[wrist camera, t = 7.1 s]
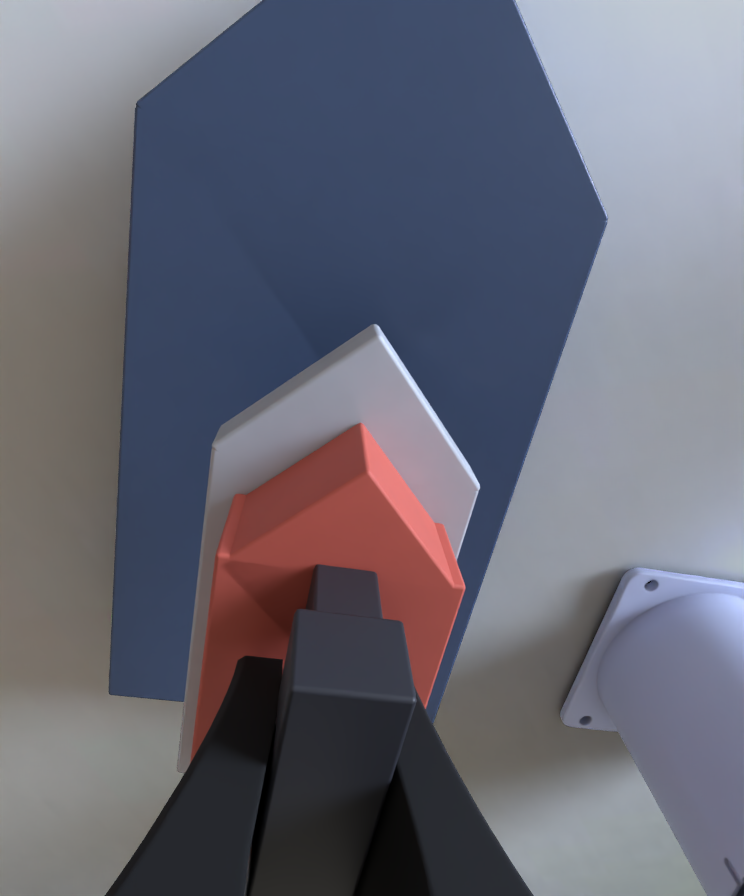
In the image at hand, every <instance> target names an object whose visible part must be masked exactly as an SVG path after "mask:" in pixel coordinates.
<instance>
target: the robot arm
mask: <svg viewBox="0 0 744 896" xmlns="http://www.w3.org/2000/svg"><path fill="white" fill-rule="evenodd" d="M650 580H652V581H651V583H649V584H647V585H645V584H646V583H647V582H648V581H650ZM282 668H283V659H275V658H265V657H256V656H244V657H242V658H240V659H239V660H238V661H237V664H236V668H235V672H234V675H233V677H232V680H231V683H230V685H229V688H228V690H227V693H226V695H225V697H224V699H223V702H222V704H221V706H220V708H219V710H218V712H217V714H216V716H215V718H214V720H213V722H212V725H211V727H210V729H209V730H208V732H207V734H206V736H205V738H204V740H203V741H202V743H201V745H200V747H199V749H198V750H197V752H196V754H195V756H194V758H193V760H192V761H191V763H190V765H189V767H188V769H187V770H186V772H185V774H184V776H183V777H182V779H181V781H180V782H179V784H178V786H177V787H176V789H175V790H174V792H173V794H172V795H171V797H170V798H169V800H168V802H167V803H166V805H165V806H164V808H163V810H162V811H161V813H160V814H159V816H158V818H157V819H156V821H155V822H154V824H153V826H152V827H151V829H150V830H149V832H148V833H147V835H146V837H145V838H144V840H143V841H142V843H141V844H140V846H139V847H138V849H137V850H136V852H135V853H134V855H133V856H132V857H131V859H130V860H129V862H128V863H127V865H126V866H125V868H124V869H123V871H122V872H121V874H120V875H119V876H118V878H117V879H116V881H115V882H114V884H113V885H112V886H111V888H110V889H109V891H108V892H107V893H106V895H105V896H244V894H245V885H246V876H247V867H248V860H249V855H250V850H251V845H252V840H253V835H254V830H255V825H256V820H257V815H258V809H259V804H260V799H261V794H262V789H263V784H264V779H265V774H266V769H267V764H268V758H269V753H270V748H271V743H272V738H273V733H274V728H275V723H276V718H277V707H278V695H279V690H280V684H281V679H282ZM414 688H415V686H414ZM415 693H416V699H417V702H416V705H415V708H414V711H413V714H412V717H411V721H410V724H409V727H408V730H407V733H406V736H405V739H404V742H403V745H402V749H401V752H400V755H399V758H398V761H397V764H396V767H395V770H394V774H393V777H392V780H391V783H390V786H389V789H388V792H387V795H386V798H385V802H384V805H383V808H382V811H381V814H380V817H379V820H378V823H377V827H376V830H375V833H374V836H373V839H372V842H371V845H370V848H369V851H368V855H367V858H366V861H365V864H364V867H363V870H362V873H361V876H360V880H359V883H358V886H357V889H356V892H355V895H354V896H533V894H532V893H531V891H530V890H529V888H528V887H527V885H526V884H525V882H524V881H523V879H522V878H521V876H520V875H519V873H518V872H517V870H516V869H515V867H514V865H513V864H512V862H511V861H510V859H509V858H508V856H507V854H506V853H505V851H504V850H503V848H502V846H501V845H500V843H499V842H498V840H497V838H496V837H495V835H494V834H493V832H492V830H491V829H490V827H489V825H488V824H487V822H486V820H485V819H484V817H483V815H482V814H481V812H480V810H479V809H478V807H477V805H476V803H475V802H474V800H473V798H472V796H471V794H470V793H469V791H468V789H467V787H466V786H465V784H464V782H463V780H462V778H461V777H460V775H459V773H458V771H457V770H456V768H455V766H454V764H453V762H452V760H451V758H450V757H449V755H448V753H447V751H446V749H445V747H444V745H443V743H442V741H441V739H440V737H439V735H438V734H437V732H436V730H435V728H434V726H433V724H432V722H431V720H430V718H429V716H428V714H427V712H426V709H425V707H424V705H423V703H422V701H421V699H420V697H419V695H418V693H417V690H416V688H415ZM560 716H561V719H562V721H563V723H564V724H565V725H566V726H569V727H575V728H585V729H595V730H605V731H615V732H619V734H620V736H621V738H622V739H623V741H624V743H625V745H626V747H627V749H628V751H629V752H630V754H631V756H632V758H633V760H634V762H635V763H636V765H637V767H638V769H639V771H640V773H641V774H642V776H643V778H644V780H645V782H646V784H647V786H648V787H649V789H650V791H651V793H652V795H653V797H654V798H655V800H656V802H657V804H658V806H659V808H660V809H661V811H662V813H663V815H664V817H665V819H666V821H667V822H668V824H669V826H670V828H671V830H672V832H673V833H674V835H675V837H676V839H677V841H678V843H679V844H680V846H681V848H682V850H683V852H684V854H685V856H686V857H687V859H688V861H689V863H690V865H691V867H692V868H693V870H694V872H695V874H696V876H697V878H698V879H699V881H700V883H701V885H702V887H703V889H704V891H705V892H706V894H707V896H744V583H742V582H735V581H729V580H722V579H715V578H708V577H701V576H695V575H688V574H681V573H674V572H667V571H660V570H654V569H647V568H640V567H639V568H632V569H630V570H628V571H627V572H626V573H625V574H624V575H623V577H622V579H621V581H620V584H619V586H618V588H617V590H616V592H615V594H614V597H613V599H612V601H611V603H610V605H609V607H608V610H607V612H606V614H605V616H604V618H603V620H602V623H601V625H600V627H599V629H598V631H597V633H596V636H595V638H594V640H593V642H592V644H591V646H590V649H589V651H588V653H587V655H586V657H585V660H584V662H583V664H582V666H581V668H580V670H579V673H578V675H577V677H576V679H575V681H574V683H573V686H572V688H571V690H570V692H569V694H568V696H567V699H566V701H565V703H564V705H563V707H562V709H561V712H560Z"/></svg>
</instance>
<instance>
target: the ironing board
mask: <svg viewBox="0 0 744 896" xmlns="http://www.w3.org/2000/svg"><path fill="white" fill-rule="evenodd" d="M607 220H608V216H607V213H606V211H605V209H604V206H603V204H602V202H601V199H600V197H599V195H598V192H597V190H596V188H595V185H594V183H593V181H592V179H591V176H590V174H589V172H588V169H587V167H586V165H585V162H584V160H583V158H582V155H581V153H580V151H579V148H578V146H577V144H576V141H575V139H574V137H573V134H572V132H571V130H570V127H569V125H568V123H567V120H566V118H565V116H564V113H563V111H562V109H561V106H560V104H559V102H558V99H557V97H556V95H555V92H554V90H553V88H552V85H551V83H550V81H549V78H548V76H547V74H546V71H545V69H544V67H543V64H542V62H541V60H540V57H539V55H538V53H537V50H536V48H535V46H534V43H533V41H532V39H531V36H530V34H529V32H528V29H527V27H526V25H525V22H524V20H523V18H522V15H521V13H520V11H519V8H518V6H517V4H516V1H515V0H262V1H261V2H260V3H258V4H257V5H256V6H255V7H254V8H252V9H251V10H250V11H249V12H247V13H246V14H245V15H244V16H242V17H241V18H240V19H239V20H237V21H236V22H235V23H234V24H232V25H231V26H230V27H229V28H228V29H226V30H225V31H224V32H223V33H221V34H220V35H219V36H218V37H216V38H215V39H214V40H213V41H211V42H210V43H209V44H208V45H206V46H205V47H204V48H203V49H201V50H200V51H199V52H198V53H197V54H195V55H194V56H193V57H192V58H190V59H189V60H188V61H187V62H185V63H184V64H183V65H182V66H180V67H179V68H178V69H177V70H175V71H174V72H173V73H172V74H171V75H169V76H168V77H167V78H166V79H164V80H163V81H162V82H161V83H159V84H158V85H157V86H156V87H154V88H153V89H152V90H151V91H149V92H148V93H147V94H146V95H144V96H143V97H142V98H141V99H140V100H138V101H137V103H136V108H135V120H134V142H133V164H132V186H131V208H130V230H129V252H128V274H127V296H126V318H125V340H124V362H123V384H122V407H121V429H120V451H119V473H118V495H117V517H116V539H115V561H114V583H113V605H112V627H111V649H110V671H109V694H110V695H117V696H127V697H138V698H148V699H159V700H169V701H179V702H184V698H185V689H186V680H187V671H188V662H189V652H190V643H191V634H192V625H193V616H194V606H195V597H196V588H197V579H198V570H199V561H200V551H201V542H202V533H203V524H204V515H205V505H206V496H207V487H208V478H209V469H210V459H211V450H212V443H213V441H214V439H215V437H216V435H217V433H218V431H219V429H220V427H221V425H223V424H224V423H226V422H227V421H229V420H230V419H232V418H233V417H235V416H236V415H238V414H239V413H241V412H242V411H244V410H245V409H247V408H248V407H250V406H251V405H253V404H254V403H256V402H257V401H258V400H260V399H261V398H263V397H264V396H266V395H267V394H269V393H270V392H272V391H273V390H275V389H276V388H278V387H279V386H281V385H282V384H284V383H285V382H287V381H288V380H290V379H291V378H293V377H294V376H296V375H297V374H299V373H300V372H302V371H303V370H305V369H306V368H308V367H309V366H311V365H312V364H314V363H315V362H317V361H318V360H320V359H321V358H323V357H324V356H326V355H327V354H329V353H330V352H332V351H333V350H335V349H336V348H338V347H339V346H341V345H342V344H344V343H345V342H347V341H348V340H350V339H351V338H352V337H354V336H355V335H357V334H358V333H360V332H361V331H363V330H364V329H366V328H367V327H369V326H370V325H373V324H376V325H378V326H379V327H380V329H381V330H382V332H383V333H384V335H385V337H386V338H387V340H388V341H389V343H390V344H391V346H392V347H393V349H394V350H395V352H396V353H397V355H398V356H399V358H400V360H401V361H402V363H403V364H404V366H405V367H406V369H407V370H408V372H409V373H410V375H411V376H412V378H413V379H414V381H415V383H416V384H417V386H418V387H419V389H420V390H421V392H422V393H423V395H424V396H425V398H426V399H427V401H428V403H429V404H430V406H431V407H432V409H433V410H434V412H435V413H436V415H437V416H438V418H439V419H440V421H441V422H442V424H443V426H444V427H445V429H446V430H447V432H448V433H449V435H450V436H451V438H452V439H453V441H454V442H455V444H456V446H457V447H458V449H459V450H460V452H461V453H462V455H463V456H464V458H465V459H466V461H467V462H468V464H469V465H470V467H471V469H472V471H473V473H474V475H475V477H476V479H477V481H478V482H479V484H480V489H479V491H478V495H477V498H476V501H475V504H474V508H473V511H472V514H471V517H470V520H469V523H468V527H467V530H466V533H465V536H464V539H463V542H462V545H461V549H460V552H459V555H458V558H457V564H458V567H459V569H460V572H461V575H462V578H463V581H464V584H465V591H464V594H463V597H462V600H461V603H460V606H459V609H458V613H457V616H456V619H455V622H454V625H453V628H452V631H451V634H450V637H449V640H448V643H447V646H446V649H445V652H444V655H443V658H442V661H441V664H440V667H439V670H438V673H437V676H436V679H435V682H434V685H433V688H432V691H431V694H430V697H429V700H428V703H427V706H426V712H427V714H428V716H429V718H430V720H431V722H432V724H433V722H434V720H435V717H436V714H437V711H438V708H439V705H440V702H441V699H442V697H443V694H444V691H445V688H446V685H447V682H448V679H449V676H450V674H451V671H452V668H453V665H454V662H455V659H456V656H457V653H458V651H459V648H460V645H461V642H462V639H463V636H464V633H465V630H466V628H467V625H468V622H469V619H470V616H471V613H472V610H473V607H474V604H475V602H476V599H477V596H478V593H479V590H480V587H481V584H482V581H483V579H484V576H485V573H486V570H487V567H488V564H489V561H490V558H491V556H492V553H493V550H494V547H495V544H496V541H497V538H498V535H499V533H500V530H501V527H502V524H503V521H504V518H505V515H506V512H507V510H508V507H509V504H510V501H511V498H512V495H513V492H514V489H515V487H516V484H517V481H518V478H519V475H520V472H521V469H522V466H523V464H524V461H525V458H526V455H527V452H528V449H529V446H530V443H531V441H532V438H533V435H534V432H535V429H536V426H537V423H538V420H539V418H540V415H541V412H542V409H543V406H544V403H545V400H546V397H547V395H548V392H549V389H550V386H551V383H552V380H553V377H554V374H555V371H556V369H557V366H558V363H559V360H560V357H561V354H562V351H563V348H564V346H565V343H566V340H567V337H568V334H569V331H570V328H571V325H572V323H573V320H574V317H575V314H576V311H577V308H578V305H579V302H580V300H581V297H582V294H583V291H584V288H585V285H586V282H587V279H588V277H589V274H590V271H591V268H592V265H593V262H594V259H595V256H596V254H597V251H598V248H599V245H600V242H601V239H602V236H603V233H604V231H605V228H606V225H607Z"/></svg>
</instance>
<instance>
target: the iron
mask: <svg viewBox="0 0 744 896" xmlns="http://www.w3.org/2000/svg"><path fill="white" fill-rule="evenodd" d="M479 489H480V484H479V482H478V481H477V479H476V477H475V475H474V473H473V471H472V469H471V467H470V465H469V464H468V462H467V461H466V459H465V458H464V456H463V455H462V453H461V452H460V450H459V449H458V447H457V446H456V444H455V442H454V441H453V439H452V438H451V436H450V435H449V433H448V432H447V430H446V429H445V427H444V426H443V424H442V422H441V421H440V419H439V418H438V416H437V415H436V413H435V412H434V410H433V409H432V407H431V406H430V404H429V403H428V401H427V399H426V398H425V396H424V395H423V393H422V392H421V390H420V389H419V387H418V386H417V384H416V383H415V381H414V379H413V378H412V376H411V375H410V373H409V372H408V370H407V369H406V367H405V366H404V364H403V363H402V361H401V360H400V358H399V356H398V355H397V353H396V352H395V350H394V349H393V347H392V346H391V344H390V343H389V341H388V340H387V338H386V337H385V335H384V333H383V332H382V330H381V329H380V327H379V326H378V325H376V324H373V325H370V326H369V327H367V328H366V329H364V330H363V331H361V332H360V333H358V334H357V335H355V336H354V337H352V338H351V339H350V340H348V341H347V342H345V343H344V344H342V345H341V346H339V347H338V348H336V349H335V350H333V351H332V352H330V353H329V354H327V355H326V356H324V357H323V358H321V359H320V360H318V361H317V362H315V363H314V364H312V365H311V366H309V367H308V368H306V369H305V370H303V371H302V372H300V373H299V374H297V375H296V376H294V377H293V378H291V379H290V380H288V381H287V382H285V383H284V384H282V385H281V386H279V387H278V388H276V389H275V390H273V391H272V392H270V393H269V394H267V395H266V396H264V397H263V398H261V399H260V400H258V401H257V402H256V403H254V404H253V405H251V406H250V407H248V408H247V409H245V410H244V411H242V412H241V413H239V414H238V415H236V416H235V417H233V418H232V419H230V420H229V421H227V422H226V423H224V424H223V425H221V427H220V429H219V431H218V433H217V435H216V437H215V439H214V441H213V443H212V450H211V459H210V469H209V478H208V487H207V496H206V505H205V515H204V524H203V533H202V542H201V551H200V561H199V570H198V579H197V588H196V597H195V606H194V616H193V625H192V634H191V643H190V652H189V662H188V671H187V680H186V689H185V698H184V708H183V717H182V726H181V735H180V744H179V753H178V763H177V771H178V772H180V773H185V772H186V770H187V769H188V767H189V765H190V763H191V761H192V760H193V758H194V756H195V754H196V752H197V750H198V749H199V747H200V745H201V743H202V741H203V740H204V738H205V736H206V734H207V732H208V730H209V729H210V727H211V725H212V722H213V720H214V718H215V716H216V714H217V712H218V710H219V708H220V706H221V704H222V702H223V699H224V697H225V695H226V693H227V690H228V688H229V685H230V683H231V680H232V677H233V675H234V672H235V668H236V664H237V661H238V660H239V659H240V658H242V657H244V656H256V657H265V658H275V659H283V668H282V679H281V684H280V690H279V695H278V707H277V718H276V723H275V728H274V733H273V738H272V743H271V748H270V753H269V758H268V764H267V769H266V774H265V779H264V784H263V789H262V794H261V799H260V804H259V809H258V815H257V820H256V825H255V830H254V835H253V840H252V845H251V850H250V855H249V860H248V867H247V876H246V885H245V894H244V896H354V895H355V892H356V889H357V886H358V883H359V880H360V876H361V873H362V870H363V867H364V864H365V861H366V858H367V855H368V851H369V848H370V845H371V842H372V839H373V836H374V833H375V830H376V827H377V823H378V820H379V817H380V814H381V811H382V808H383V805H384V802H385V798H386V795H387V792H388V789H389V786H390V783H391V780H392V777H393V774H394V770H395V767H396V764H397V761H398V758H399V755H400V752H401V749H402V745H403V742H404V739H405V736H406V733H407V730H408V727H409V724H410V721H411V717H412V714H413V711H414V708H415V705H416V702H417V699H416V693H415V688H416V690H417V693H418V695H419V697H420V699H421V701H422V703H423V705H424V707H425V709H426V706H427V703H428V700H429V697H430V694H431V691H432V688H433V685H434V682H435V679H436V676H437V673H438V670H439V667H440V664H441V661H442V658H443V655H444V652H445V649H446V646H447V643H448V640H449V637H450V634H451V631H452V628H453V625H454V622H455V619H456V616H457V613H458V609H459V606H460V603H461V600H462V597H463V594H464V591H465V584H464V581H463V578H462V575H461V572H460V569H459V567H458V564H457V558H458V555H459V552H460V549H461V545H462V542H463V539H464V536H465V533H466V530H467V527H468V523H469V520H470V517H471V514H472V511H473V508H474V504H475V501H476V498H477V495H478V491H479ZM414 686H415V688H414Z"/></svg>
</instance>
